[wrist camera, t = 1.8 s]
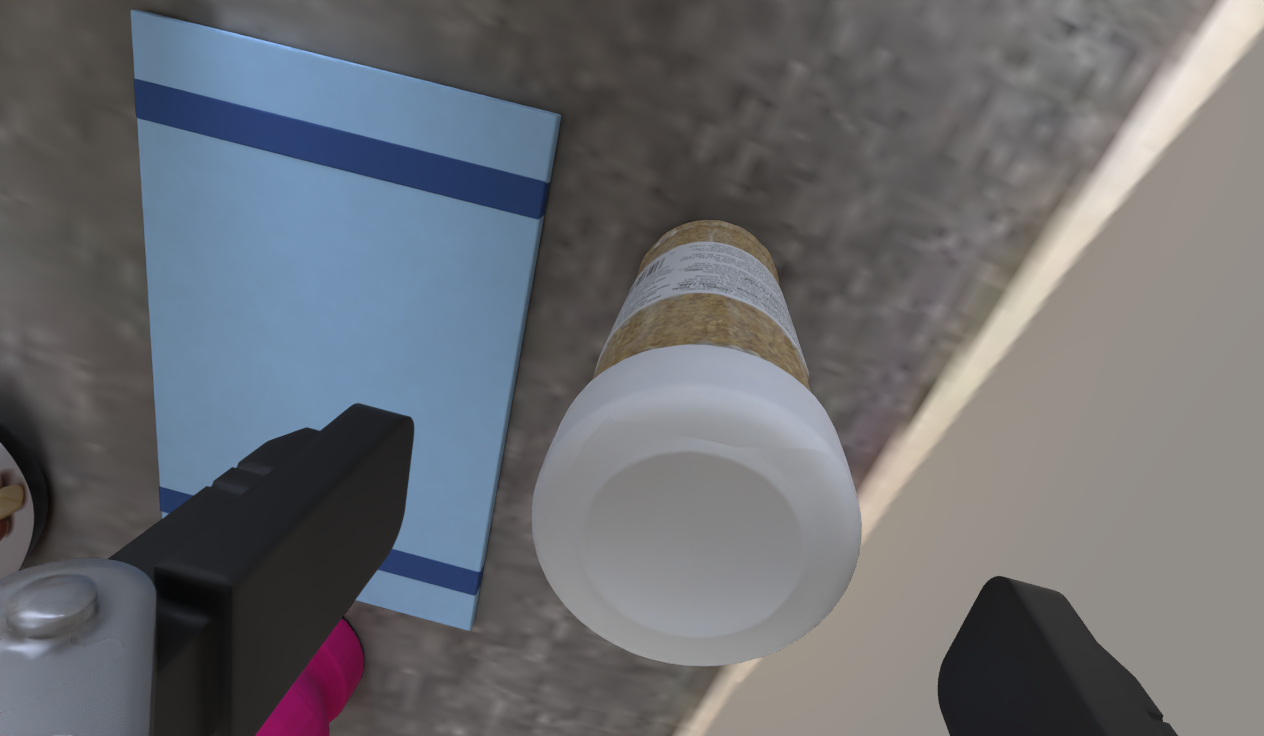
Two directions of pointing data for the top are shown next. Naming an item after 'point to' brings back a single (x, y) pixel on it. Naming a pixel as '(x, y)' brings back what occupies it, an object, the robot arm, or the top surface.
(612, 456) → the sprinkles bottle
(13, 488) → the spread jar
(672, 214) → the top surface
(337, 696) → the pepper mill
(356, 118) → the towel
